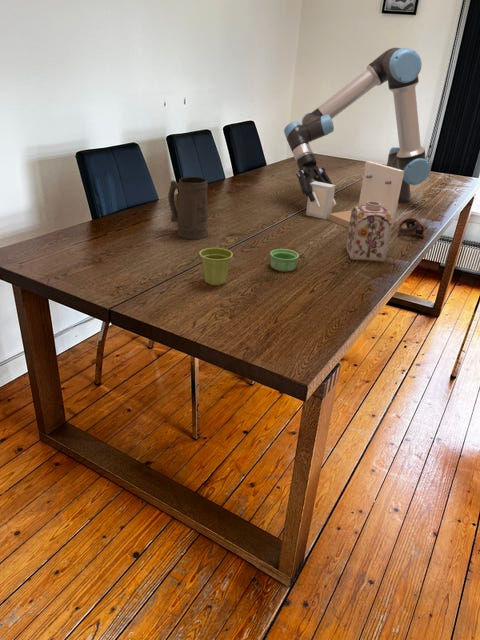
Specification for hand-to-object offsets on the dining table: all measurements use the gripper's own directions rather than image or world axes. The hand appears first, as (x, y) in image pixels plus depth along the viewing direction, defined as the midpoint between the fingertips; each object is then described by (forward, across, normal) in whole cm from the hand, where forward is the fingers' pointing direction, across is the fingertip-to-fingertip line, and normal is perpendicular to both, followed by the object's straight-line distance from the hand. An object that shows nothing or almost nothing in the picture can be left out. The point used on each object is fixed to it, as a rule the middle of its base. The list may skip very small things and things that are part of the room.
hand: (325, 206), depth 208 cm
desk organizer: (+12, -9, +5) cm, 15 cm away
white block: (+1, 0, -6) cm, 6 cm away
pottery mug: (+26, -16, +18) cm, 35 cm away
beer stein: (-1, +60, -8) cm, 61 cm away
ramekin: (+27, +47, +20) cm, 58 cm away
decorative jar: (+30, +15, +23) cm, 41 cm away
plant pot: (+27, +72, +20) cm, 80 cm away
